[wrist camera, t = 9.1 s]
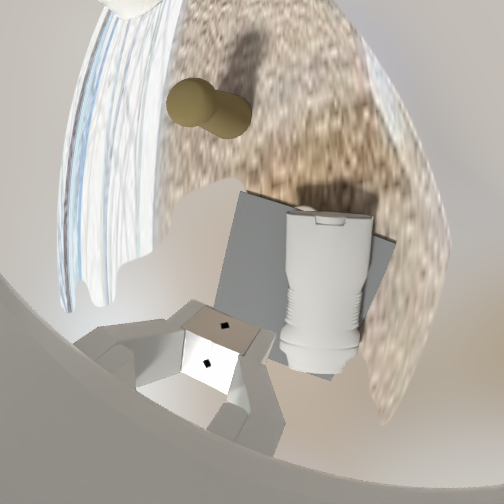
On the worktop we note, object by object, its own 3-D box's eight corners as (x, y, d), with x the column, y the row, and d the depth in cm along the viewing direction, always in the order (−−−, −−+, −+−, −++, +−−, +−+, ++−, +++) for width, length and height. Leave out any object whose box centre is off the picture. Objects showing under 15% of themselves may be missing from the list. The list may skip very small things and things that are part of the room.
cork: (257, 131, 32) (217, 115, 22) (213, 145, 35) (163, 138, 25) (245, 88, 31) (203, 60, 21) (203, 104, 34) (152, 86, 24)
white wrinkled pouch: (380, 220, 27) (352, 384, 34) (373, 213, 31) (351, 366, 37) (279, 214, 30) (275, 377, 36) (285, 208, 34) (280, 360, 40)
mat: (241, 191, 35) (240, 191, 35) (395, 243, 31) (396, 244, 30) (209, 332, 43) (208, 332, 43) (330, 379, 38) (330, 380, 38)
